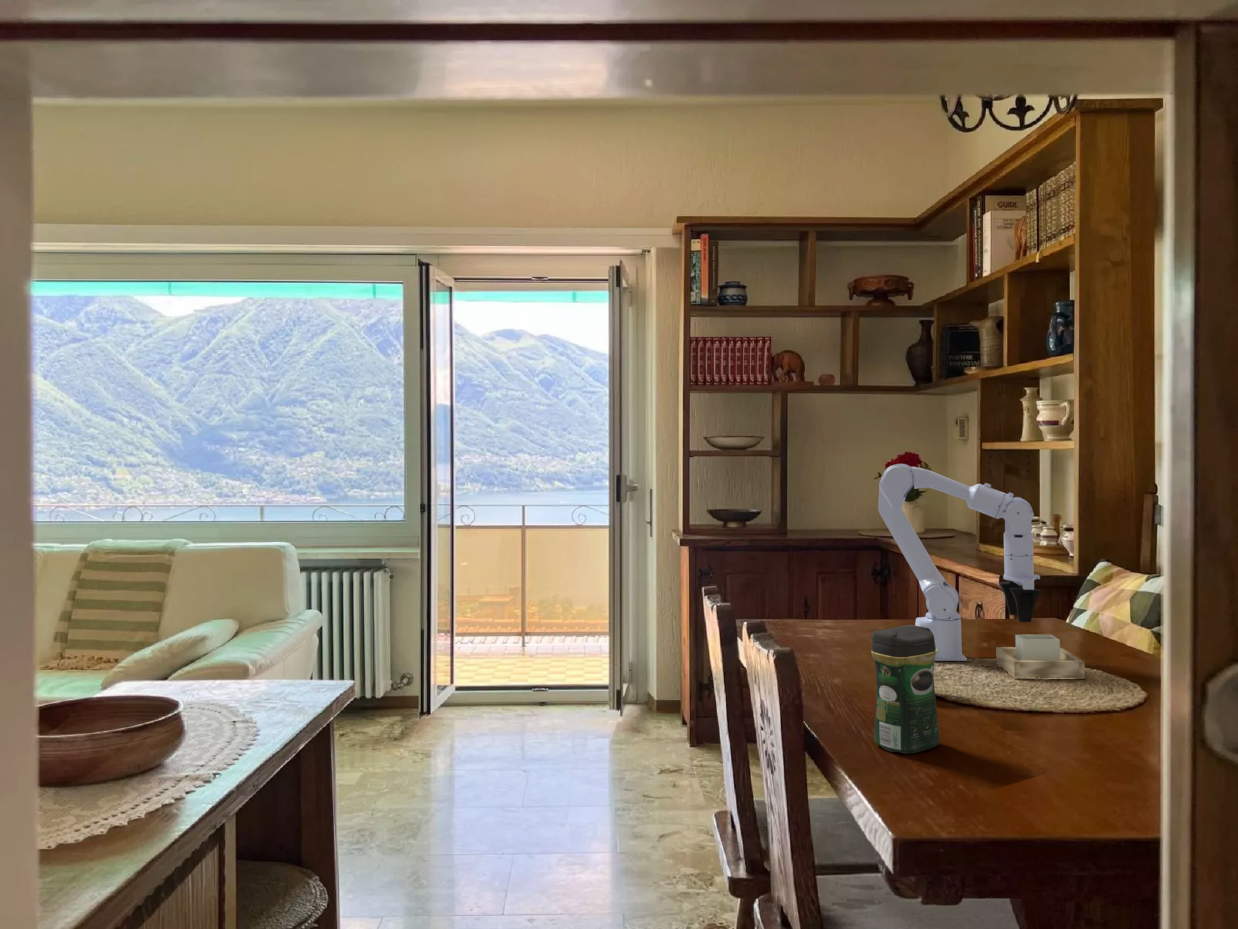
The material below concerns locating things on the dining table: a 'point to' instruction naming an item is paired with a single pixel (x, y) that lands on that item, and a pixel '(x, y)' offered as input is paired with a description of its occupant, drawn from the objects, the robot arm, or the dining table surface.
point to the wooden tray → (1040, 665)
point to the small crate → (1037, 647)
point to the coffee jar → (905, 689)
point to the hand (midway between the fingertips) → (1020, 618)
